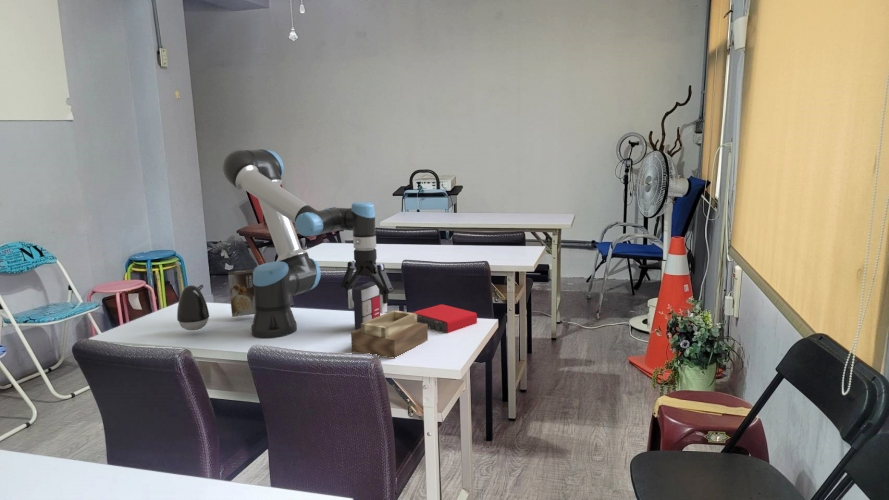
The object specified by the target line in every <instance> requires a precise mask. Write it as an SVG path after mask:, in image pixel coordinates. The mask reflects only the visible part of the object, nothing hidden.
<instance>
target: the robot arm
mask: <svg viewBox="0 0 889 500" xmlns="http://www.w3.org/2000/svg"><path fill="white" fill-rule="evenodd" d="M284 168H285V166H284V163H283V161H282V158H281V157H280V156H279V155H278V153H276V152H275V151H273V150H270V149H269V150H268V149H261V148H259V149H238V150H234V151H232V152H230V153H229V154H227V156H225V158H224V160H223V162H222V172H223V176H224V178H225V179H226V181H228V183H230V184H231V185H232V186H233V187H235V188H236V189H238V190H239V191H241V192H242V191H243V192H244V191H246V192H247V193H249V194H250V195H252V196H253V197H254V198H256V199H257V200H258V203H259V206H260V208H261V211H262V214H263V217H264V220H265V222H266V225H267V229H268V231H269V235H270V237H271V240H272V242H273V245H274V248H275V251H276V254H277V259H276V261H270V262H265V263H263V264H259V265H257V266H256V267H255V268H254V269H253V288H254V299H255V314H253V315H254V316H253V321H252V324H251V327H250V329H251V332H250V333H251V335H252V336H254V337H255V338H263V339H264V338H266V339H269V338H270V339H271V338H279V337H284V336H285V337H286V336H289V335H291V334H293V333H294V334H295V332H296V331H297V330H298V328H297V327H298V325H297V324H298V323H297V321H296V320H295V316H294V314H293V310H292V309H291V297H294V296H297V295H299V294H302V293H307V292H309V291H310V290H313V289H315V288H316V287H317V286H318V285H319V282H320V280H321V273H322V272H321V267H320V265H319V263H318V262H317V261H316V260H315V259H314V258H311V257H309V253H308V251H307V250H305V249H302V245H301V244H300V241H299V237H298V235H297V232H298V234H300V235H301V236H303V237H317V236H319V235H323V234H326V233H327V234H328V233H332V232H337V231H352V238H353V239H352V240H353V241H352V242H353V259H354V260H351V261H348V262H347V266H346V267H347V268H346V271H345V274H344V277H343V280H342V282H341V284H340V285H341V286H340V287H341V288H344V289H345V290H346V299H347V302H348V309H350V310H353V309H354V302H353V300H352V288H355V285H356V283H357V282H358V280H359V279H360V278H361V277H366V278H367V277H368V278H370V279H371V280H372V282H374V283H375V284H376V285H377V287H378V288H379V292H380V293H379V296H380V315H383V314H386V313H388V303H389V294H390V293H392V292H394V288H393V286H392V284H391V280H390V279H389V277H388V274H387V272H386V269H385V264H384V263H380V264H377V259H378V258H377V254H378V253H377V249H376V248H377V235H376V213H375V212H376V211H375V205H374V203H372V202H371V201H361V202H353V203H352V204H351V207H350V208H349V207H336V206H334V207H333V206H332V207H326V208H324V209H322V210H317V209H315V208H314V207H312V206H311V205H309V204H308V203H306V202H305V201H304V200H301V199H300V198H299V197H297V196H296V195H294V194H293V193H291V192H289V191H288V190H286V189H285V188H284V187H282V186H281V185H282V183H283V180H282V177H283V175H284V170H285V169H284ZM293 223H294V224H295V227H294V224H293ZM295 229H296V230H297V232H296V230H295ZM354 270H355V271H354Z"/></svg>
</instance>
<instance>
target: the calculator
mask: <svg viewBox="0 0 889 500" xmlns="http://www.w3.org/2000/svg"><path fill="white" fill-rule="evenodd" d="M352 300H353V302H354V308H353V313H354V331H355V330H358V329H360V328H361V324H362V323H364V322H367V321H369V320H371V319H374V318H376V317H379V316H381V310H380V290H379V288H378V287H377V285H376V284H375V282H374V281H369V282H366V283H364V284H361V285H358V286H354V288H352Z"/></svg>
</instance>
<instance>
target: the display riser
mask: <svg viewBox="0 0 889 500" xmlns="http://www.w3.org/2000/svg"><path fill="white" fill-rule="evenodd" d="M428 329H429V328H428V325H427V324H424V323H418V322H417V314H416V313H412V312H407V311H401V310H394V309H393V310H390V311H389V312H388V311H387V312H385V313H383V314H380V316H379V317H376V318H374V319H371V320H369V321H367V322H364V323H362V324H361V328H360V329H358V330H355V329H354V330H353V331H351V332H350V336H351V337H350V339H351V352H353V353H359V354H364V353H370V354H377V355H380V356H379V357H382V356H387V357H386V358H389V357H394V358H393V359H396V358H395V357H397V356H399V355H401V354H402V355H404V354H406V353H408V352H409V350H410V351H412V350H413V349H415V348H417V347H418V345H419V346H420V345H422V344H424V343H426V342H427V341H428V340H429V339H428V337H429V333H428V332H429V331H428ZM416 346H417V347H416ZM407 351H408V352H407ZM405 352H406V353H405ZM403 353H404V354H403ZM370 354H369V355H370ZM402 355H401V356H402ZM399 357H400V356H399ZM397 358H398V357H397Z"/></svg>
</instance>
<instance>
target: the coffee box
mask: <svg viewBox="0 0 889 500" xmlns="http://www.w3.org/2000/svg"><path fill="white" fill-rule="evenodd" d="M253 271H254V269H246V270H236V271H234V270H233V271H228V272H227V276H228V278H227V279H228V286H229V287H228V288H229V297H230V300H229V301H230V309H231V310H230V311H231V316H232V317H233V318H234V317H242V316H243V317H244V316H249V315H255V299H254V288H253Z"/></svg>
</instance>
